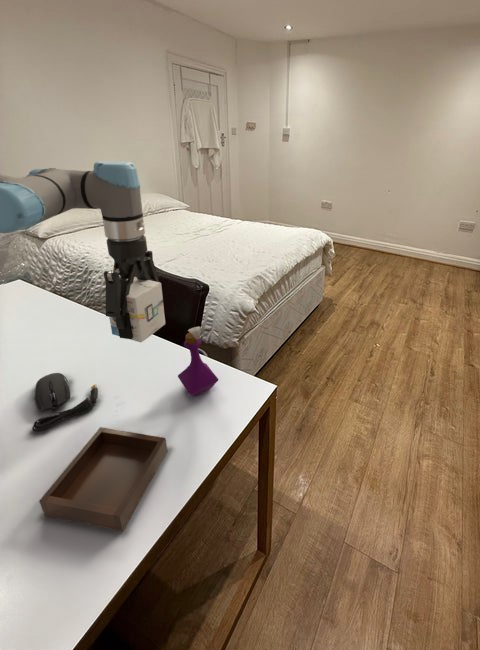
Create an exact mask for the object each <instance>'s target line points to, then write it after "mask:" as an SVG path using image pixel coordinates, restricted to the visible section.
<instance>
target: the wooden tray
mask: <svg viewBox="0 0 480 650" xmlns="http://www.w3.org/2000/svg"><path fill="white" fill-rule="evenodd" d="M167 453H168V445H167V439H166V437H164V436H163V437H162V436H156V435H152V434H151V435H150V434H143V433H137V432H131V431H125V430H121V429H113V428H107V427H101V426H100V427H99V428H98V429H97V430H96V432H95V433H94V434H93V435H92V436H91V438H90V439H89V440H88V441H87V442H86V444H85V445H84V446H83V447H82V449H81V450H80V451H79V452H78V453H77V454H76V455H75V457H74V458H73V459H72V461H71V462H70V463H69V464H68V466H67V467H66V468H65V469H64V470H63V472H61V474H59V476H58V477H57V479H56V480H55V481H53V484H51V486H50V487H49V488H48V489H47V490H46V492H45V493H44V494H43V496H42V497H40V498H39V500H38V501H39V505H40V507H41V510H42V513H43V515H44V517H49V518H55V519H59V520H65V521H70V522H74V523H79V524H84V525H89V526H94V527H99V528H105V529H108V530H114V531H120V532H124V530H125V529H126V527H127V525H128V524H129V522H130V520H131V518H132V516H133V514H134V513H135V511H136V509H137V507H138V505H139V504H140V502H141V501H142V498H143V496H144V495H145V493H146V491H147V490H148V487H149V486H150V484H151V482H152V481H153V479H154V477H155V474H157V471H158V470H159V468H160V466H161V465H162V462H163V460H164V459H165V457H166V455H167Z"/></svg>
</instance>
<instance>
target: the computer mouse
mask: <svg viewBox="0 0 480 650" xmlns="http://www.w3.org/2000/svg"><path fill="white" fill-rule="evenodd" d="M98 389H99V388H98V387H97V384H96V383H95V384H93V385H92V386H91V387H90V392H89V394H90V399H89V398H88V397H86V398H85V399H83V400H82V401H81V402H79V403H78V404H76V405H75V406H74V407H71V408H68V409H66V410H62V411H58V406H60V405H62V404H64V403H65V402H67V401H68V400H70V399H71V390H70V385H69V381H68V378H67V377H66V376H65V375H64V374H63V373H60V372H53V373H49V374H45V375H44V376H42V377H41V378H39V379H38V380H37V382H36V384H35V388H34V401H35V405H36V408H37V410H38V411H39V412H40V411H44V410H48V409H53V411H54V412H55V413H56V414H53V415H48V416H43V417H40V418H38V419H36V420H35V421H34V422H33V424H32V425H33V426H32V427H31V428H32V431H33V432H41V431H45V430H47V429H49V428H51V427H53V426H54V425H56V424H57V423H59V422H60V421H63V420H68V419H69V417H75V416H79V415H83V414H86V413H88V412H90V411H91V410H93V408H94V407H95V405H96V404H97V400H98V396H99V390H98Z"/></svg>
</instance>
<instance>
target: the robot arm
mask: <svg viewBox="0 0 480 650" xmlns="http://www.w3.org/2000/svg"><path fill="white" fill-rule="evenodd" d="M141 195H142V194H141V183H140V179H139V174H138V170H137V166H136V165H135V164H134V163H133V162H130V161H128V160H127V161H126V160H99V161H95V162H94V164H93V170H79V169H78V170H76V169H62V168H61V169H60V168H56V167H53V168H52V167H49V168H35V169H31V170H30V171H29V172H28V174H27V175H26V176H22V177H15V176H10V175H6V174H2V173H0V234H12V233H16V232H19V231H24V230H28V229H31V228H33V227H36V225H38V224H40V223H42V222H45V221H47V220H49V219H51V218H53V217H56V216H58V215H61V214H63V213H66V212H68V211H70V210H75V209H83V210H84V209H86V210H87V209H88V210H100V213H101V218H102V224H103V230H104V236H105V238H107V239H106V247H107V254H108V255H109V257H111V259H113V268H112V269H111V270H105V271H103V278H104V282H105V291H106V296H105V317H107V318H108V317H115V321H116V326H117V328H118V331H119V336H118V337H119V339H124V340H125V339H126V340H130V339H132V338H133V334H132V328H131V321H130V315H129V313H127V312H126V310H127V298H126V296H128V295H129V292H130V286H131V284H133V281H134V277H137V279H138V280H146V281H147V280H151V281H155V282H160V280H159V276H158V272H157V270H156V266H155V263H154V257H153V251H152V250H148V244H147V243H148V242H147V237H146V236H145V234H146V229H145V222H144V221H145V220H144V213H143V204H142V203H143V202H142V196H141ZM127 279H128V280H127ZM120 309H121V310H120Z"/></svg>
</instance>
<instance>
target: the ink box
mask: <svg viewBox="0 0 480 650" xmlns="http://www.w3.org/2000/svg"><path fill="white" fill-rule="evenodd" d="M126 280H128V279H126ZM104 297H106V290H104ZM126 298H127V310H126V312H127V313H129V315H130V321H131V328H132V334H133V338H132V339H129V340H130V341H135V342H138V343H143V342H145V341H146V340H147V339H148V338H149V337H151V336H152V335H153V334H155V333H156V332H157V331H158V330H160V329H161V328H162V327H163V326H165V325H166V317H165V308H164V307H165V306H164V298H163V288H162V283H161V282H160V281H159V282H155V281H151V280H147V281H146V280H138V279H137V277H136V276H135V277H134V281H133V284H131V286H130V292H129V295H128V296H126ZM120 310H121V309H120ZM108 319H109V324H110V329H111V334H112V335H114V336H117V337H120V336H119V331H118V328H117V326H116V321H115V317H109V318H108Z"/></svg>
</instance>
